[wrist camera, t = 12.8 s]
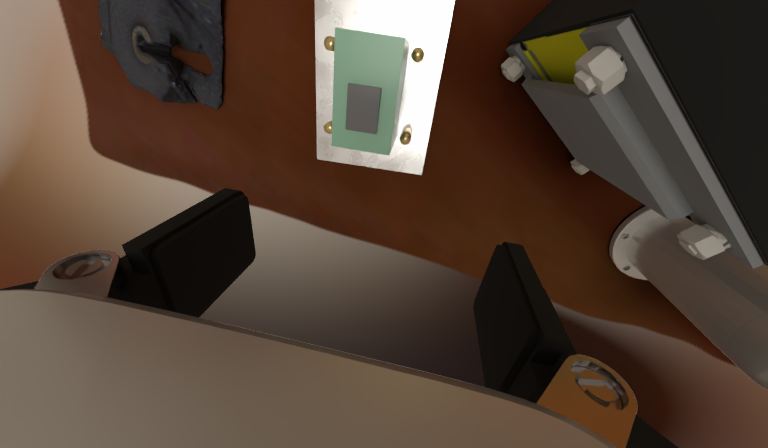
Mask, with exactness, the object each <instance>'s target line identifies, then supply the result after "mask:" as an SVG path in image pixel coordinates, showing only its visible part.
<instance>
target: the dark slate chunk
mask: <svg viewBox="0 0 768 448" xmlns="http://www.w3.org/2000/svg"><path fill="white" fill-rule="evenodd" d="M220 4H221V0H99V17H100V26H101V29H102V32H101V38H102V44H103V45H104V46H105V47H106V48H107V49H108V50H109V51H111V52H112V53H113V54H114V55H115V56H116V57H117V59H118V62H119V64H120V65H121V66H122V69H123V71H124V72H125V74H126V75H127V77H128V79H129V82H130V83H131V84H132V85H133V86H135V87H137V88H139V89H142V90H145V91H147V92H150V93H152V94H153V95H154V96H156V97H157V98H158V99H159V100H161V101H162V102H181V103H186V102H189V103H196V100H197V99H198V100H199V101H200V103H201V104H203V105H205V104H206V105H208V106H209V107H214V108H215V109H218V107H219V106H220V105H221V104H222V99H221V98H222V84H221V80H222V68H223V49H222V46H223V43H224V42H223V27H222V16H221V6H220ZM175 44H179V45H181V47H182V48H183V49H185V50H189V51H192V52H196V53H202V54H206V56H207V57H208V59H209V60H210V62H211V64H212V67H213V71H212V73H211V75H205V74H203V73H200V72H198V71H196V70H195V69H194V68H193V67H191V66H190V65H184V66H183V63H181V62H180V61H179V60H177V59H175V58H173V57H172V56H171V54H170V53H169V52H172V51H171V49H172V47H173V46H174V45H175ZM194 96H196V97H194Z"/></svg>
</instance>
